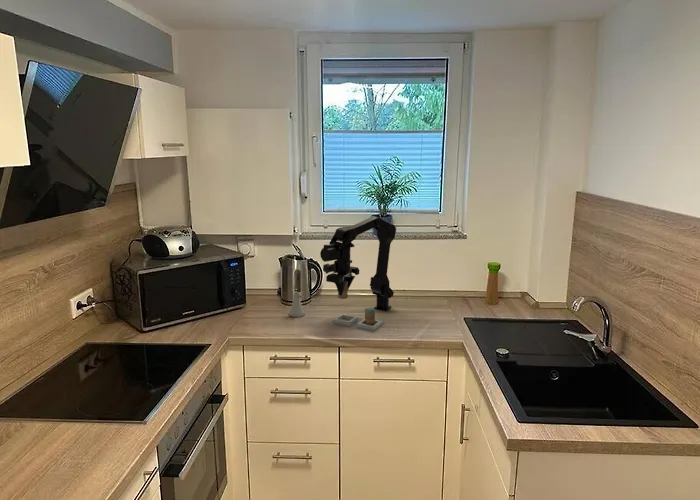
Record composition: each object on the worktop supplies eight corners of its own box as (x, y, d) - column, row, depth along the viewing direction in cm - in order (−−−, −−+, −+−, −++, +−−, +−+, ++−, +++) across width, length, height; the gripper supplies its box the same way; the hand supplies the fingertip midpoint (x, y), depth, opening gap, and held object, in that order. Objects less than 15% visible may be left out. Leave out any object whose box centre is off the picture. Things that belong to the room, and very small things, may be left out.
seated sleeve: (367, 323, 211) (367, 307, 210) (376, 325, 210) (376, 308, 208) (362, 326, 208) (363, 310, 206) (372, 328, 206) (372, 311, 204)
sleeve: (340, 295, 219) (341, 279, 217) (349, 296, 217) (349, 281, 215) (336, 297, 215) (336, 281, 214) (344, 299, 213) (344, 283, 212)
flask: (306, 312, 228) (306, 291, 226) (303, 317, 221) (303, 295, 219) (290, 311, 228) (290, 290, 226) (287, 317, 221) (286, 295, 219)
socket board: (343, 317, 221) (343, 312, 220) (385, 325, 212) (385, 319, 212) (329, 326, 210) (329, 320, 210) (373, 335, 202) (373, 329, 201)
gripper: (337, 252, 224) (337, 285, 228) (315, 260, 208) (315, 296, 211) (360, 255, 219) (359, 289, 222) (338, 263, 203) (338, 300, 206)
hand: (343, 293), depth 216 cm, fingers closed on sleeve, 4 cm apart
